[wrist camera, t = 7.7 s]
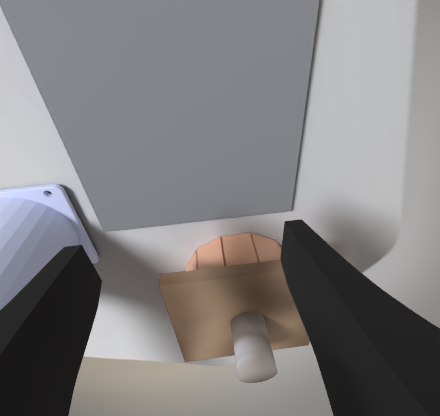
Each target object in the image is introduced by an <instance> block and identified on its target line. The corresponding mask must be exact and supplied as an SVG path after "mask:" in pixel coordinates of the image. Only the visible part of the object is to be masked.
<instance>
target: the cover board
mask: <svg viewBox="0 0 440 416" xmlns="http://www.w3.org/2000/svg"><path fill="white" fill-rule="evenodd" d="M159 288H160V291H161V293H162V296H163V299H164V302H165V305H166V308H167V311H168V314H169V317H170V319H171V322H172V325H173V328H174V331H175V334H176V337H177V340H178V343H179V345H180V348H181V351H182V354H183V357H184V360H185V362H189V361H196V360H203V359H211V358H218V357H225V356H233V355H235V360H236V367H237V375H238V379H239V380H240V381H242V382H246V383H256V382H262V381H265V380H268V379H270V378H272V377H274V376H275V375H276V374H277V368H276V365H275V360H274V356H273V352H272V350H276V349H284V348H291V347H298V346H305V345H309V342H310V339H309V337H308V335H307V332H306V330H305V327H304V325H303V322H302V320H301V318H300V315H299V313H298V310H297V308H296V305H295V303H294V300H293V298H292V295H291V293H290V290H289V288H288V285H287V282H286V279H285V275H284V271H283V268H282V264H281V260H273V261H265V262H257V263H248V264H240V265H232V266H224V267H216V268H208V269H200V270H192V271H183V272H175V273H167V274H160V281H159Z"/></svg>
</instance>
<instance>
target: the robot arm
mask: <svg viewBox="0 0 440 416" xmlns="http://www.w3.org/2000/svg"><path fill="white" fill-rule="evenodd" d="M47 191H49V192H51V193H52V194H49V193H48V192H47ZM98 260H99V256H98V254H97V252H96V250H95V248H94V246H93V244H92V242H91V240H90V238H89V236H88V234H87V232H86V231H85V229H84V227H83V225H82V223H81V221H80V219H79V217H78V215H77V213H76V211H75V209H74V207H73V205H72V203H71V201H70V199H69V197H68V196H67V194H66V192H65V190H64V188H63V187H62V186H60V185H57V184H52V185H42V186H33V187H23V188H14V189H4V190H0V416H68V414H69V409H70V405H71V399H72V395H73V390H74V386H75V382H76V379H77V375H78V371H79V368H80V365H81V362H82V358H83V355H84V352H85V349H86V345H87V342H88V339H89V335H90V332H91V329H92V325H93V322H94V319H95V315H96V312H97V308H98V302H99V297H100V290H101V283H102V280H101V279H100V277H99V275H98V273H97V271H96V269H95V268H94V266H93V264H95V263H97V262H98ZM280 260H281V264H282V268H283V271H284V275H285V279H286V282H287V285H288V288H289V290H290V293H291V295H292V298H293V300H294V303H295V305H296V308H297V310H298V313H299V315H300V318H301V320H302V322H303V325H304V327H305V330H306V332H307V335H308V337H309V339H310V342H311V345H312V347H313V350H314V353H315V355H316V358H317V362H318V365H319V368H320V371H321V375H322V378H323V381H324V384H325V388H326V391H327V395H328V398H329V401H330V405H331V408H332V412H333V415H334V416H440V328H438V327H436V326H435V325H433V324H431V323H430V322H428V321H427V320H425V319H424V318H422V317H421V316H419V315H418V314H416V313H415V312H413V311H412V310H410V309H409V308H407V307H406V306H405V305H403V304H402V303H400V302H399V301H397V300H396V299H395V298H393V297H392V296H390V295H389V294H387V293H386V292H385V291H383V290H382V289H381V288H379V287H378V286H377V285H376V284H374V283H373V282H372V281H370V280H369V279H368V278H367V277H365V276H364V275H363V274H362V273H360V272H359V271H358V270H357V269H356V268H354V267H353V266H352V265H351V264H350V263H349V262H347V261H346V260H345V259H344V258H343V257H342V256H341V255H339V254H338V253H337V252H336V251H335V250H334V249H333V248H332V247H330V246H329V245H328V244H327V243H326V242H325V241H324V240H323V239H322V238H321V237H320V236H319V235H318V234H317V233H315V232H314V231H313V230H312V229H311V228H310V227H309V226H308V225H307V224H306V223H305V222H304V221H303V220H293V221H285V224H284V233H283V241H282V249H281V258H280Z"/></svg>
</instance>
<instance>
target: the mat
mask: <svg viewBox="0 0 440 416" xmlns="http://www.w3.org/2000/svg"><path fill="white" fill-rule="evenodd" d="M0 6H1V9H2V11H3V13H4V15H5V17H6V20H7V22H8V24H9V26H10V28H11V30H12V33H13V35H14V37H15V39H16V41H17V44H18V46H19V48H20V50H21V52H22V54H23V57H24V59H25V61H26V63H27V65H28V68H29V70H30V72H31V74H32V76H33V78H34V81H35V83H36V85H37V87H38V89H39V92H40V94H41V96H42V98H43V100H44V102H45V105H46V107H47V109H48V111H49V113H50V116H51V118H52V120H53V122H54V124H55V126H56V129H57V131H58V133H59V135H60V137H61V140H62V142H63V144H64V146H65V148H66V150H67V153H68V155H69V157H70V159H71V161H72V164H73V166H74V168H75V170H76V172H77V174H78V177H79V179H80V181H81V183H82V185H83V188H84V190H85V192H86V194H87V196H88V199H89V201H90V203H91V205H92V207H93V209H94V212H95V214H96V216H97V218H98V220H99V223H100V225H101V227H102V229H103V231H104V232H109V231H118V230H127V229H135V228H144V227H153V226H162V225H171V224H179V223H188V222H197V221H206V220H215V219H223V218H232V217H241V216H250V215H259V214H268V213H276V212H285V211H291V209H292V202H293V194H294V187H295V179H296V172H297V164H298V157H299V150H300V142H301V135H302V127H303V120H304V112H305V105H306V97H307V90H308V82H309V75H310V68H311V60H312V53H313V45H314V38H315V30H316V23H317V15H318V8H319V0H0Z"/></svg>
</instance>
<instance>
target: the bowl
mask: <svg viewBox="0 0 440 416" xmlns="http://www.w3.org/2000/svg"><path fill="white" fill-rule="evenodd" d="M281 249H282V248H281V246H280V245H279V244H278V243H277V241H275V240H273V239H270V238H266V237H263V236H260V235H257V234H254V233H251V235H250V233H244V234H235V235H227V236H222V238H221V237H218V238H217V239H215V240H213V241H211V242H209V243H208V244H206V245H204V246H202V247H200V248H199V249H197V251H195V253H194V254H193V256H192V257H191V259H190V261H189V262H188V264H187V266H186V267H185V271H192V270H200V269H208V268H216V267H224V266H232V265H240V264H248V263H257V262H265V261H273V260H280V258H281Z"/></svg>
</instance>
